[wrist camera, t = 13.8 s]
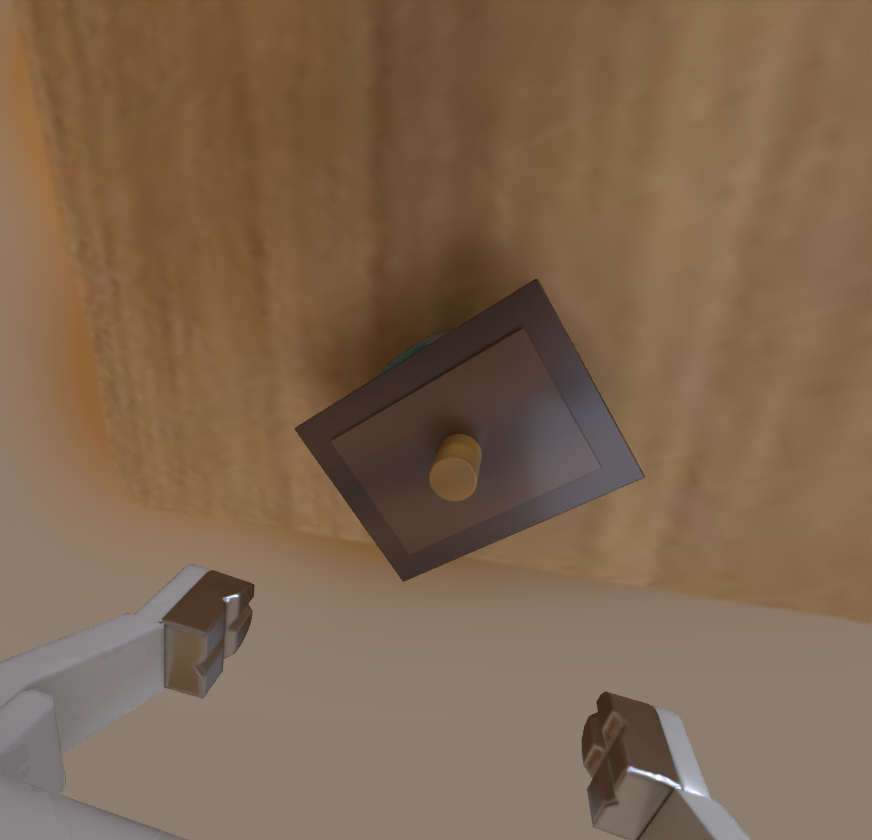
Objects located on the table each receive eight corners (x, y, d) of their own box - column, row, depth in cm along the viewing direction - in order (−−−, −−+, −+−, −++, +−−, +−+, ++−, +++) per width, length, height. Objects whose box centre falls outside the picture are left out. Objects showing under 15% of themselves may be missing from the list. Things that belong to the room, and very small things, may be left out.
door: (299, 424, 27) (261, 452, 23) (536, 278, 22) (542, 279, 18) (405, 574, 29) (388, 624, 25) (641, 471, 24) (668, 511, 20)
